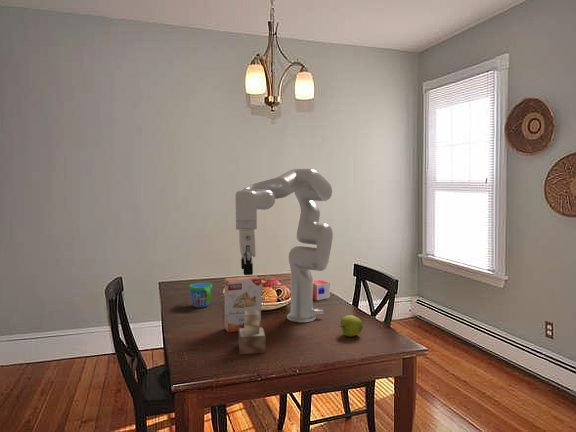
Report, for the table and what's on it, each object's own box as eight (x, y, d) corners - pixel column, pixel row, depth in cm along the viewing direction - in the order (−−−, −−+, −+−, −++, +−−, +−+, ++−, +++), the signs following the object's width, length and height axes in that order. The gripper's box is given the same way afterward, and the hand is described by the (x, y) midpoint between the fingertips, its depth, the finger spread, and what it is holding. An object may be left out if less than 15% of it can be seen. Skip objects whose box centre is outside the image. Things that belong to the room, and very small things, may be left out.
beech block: (258, 329, 167) (258, 310, 166) (259, 333, 162) (259, 314, 162) (244, 329, 166) (244, 310, 166) (245, 334, 161) (245, 315, 161)
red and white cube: (320, 294, 240) (320, 279, 239) (329, 298, 233) (329, 283, 233) (307, 296, 236) (308, 281, 235) (316, 300, 229) (316, 284, 228)
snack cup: (184, 303, 221) (183, 283, 220) (204, 300, 227) (204, 280, 226) (197, 311, 208) (197, 290, 208) (218, 308, 214) (218, 286, 214)
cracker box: (228, 333, 181) (227, 281, 179) (224, 328, 186) (223, 277, 184) (261, 328, 186) (261, 278, 184) (256, 324, 192) (256, 275, 190)
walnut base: (263, 343, 170) (263, 327, 169) (265, 352, 161) (265, 335, 160) (238, 344, 168) (238, 328, 168) (239, 354, 160) (239, 336, 159)
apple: (335, 334, 180) (335, 314, 180) (355, 331, 184) (355, 311, 183) (345, 340, 173) (345, 320, 172) (365, 337, 177) (366, 317, 176)
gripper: (259, 227, 157) (260, 276, 159) (254, 221, 174) (254, 266, 175) (237, 228, 155) (238, 277, 157) (234, 222, 172) (234, 267, 174)
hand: (246, 271), depth 166 cm, fingers open, 9 cm apart
